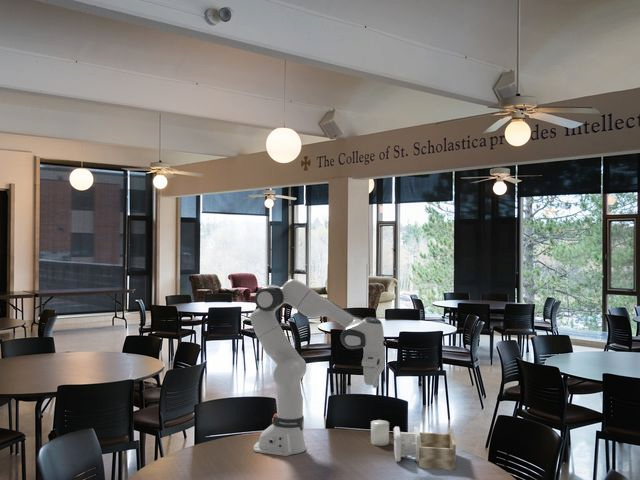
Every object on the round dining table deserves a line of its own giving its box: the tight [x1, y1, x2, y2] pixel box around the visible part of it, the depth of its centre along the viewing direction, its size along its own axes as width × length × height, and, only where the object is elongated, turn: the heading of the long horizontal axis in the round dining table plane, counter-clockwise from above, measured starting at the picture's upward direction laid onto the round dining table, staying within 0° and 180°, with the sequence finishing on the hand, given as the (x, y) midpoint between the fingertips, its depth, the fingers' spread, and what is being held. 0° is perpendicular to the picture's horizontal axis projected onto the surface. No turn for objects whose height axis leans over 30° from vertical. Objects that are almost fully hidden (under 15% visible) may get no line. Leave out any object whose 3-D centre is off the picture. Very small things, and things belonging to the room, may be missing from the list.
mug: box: [370, 419, 390, 447], centre depth 274 cm, size 8×11×9 cm
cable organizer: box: [393, 426, 421, 463], centre depth 253 cm, size 15×11×12 cm
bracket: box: [418, 428, 457, 471], centre depth 251 cm, size 14×20×10 cm
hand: (375, 386), depth 259 cm, fingers closed
